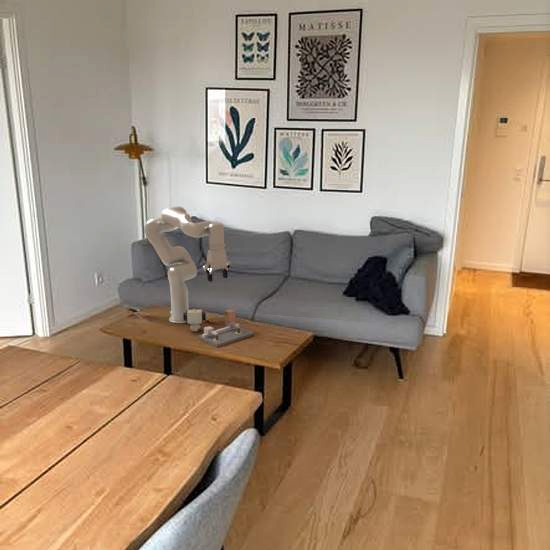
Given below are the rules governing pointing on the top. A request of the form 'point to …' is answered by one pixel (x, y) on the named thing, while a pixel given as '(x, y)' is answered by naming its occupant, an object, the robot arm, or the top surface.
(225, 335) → the plate
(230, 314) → the sliding leg
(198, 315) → the pneumatic valve
